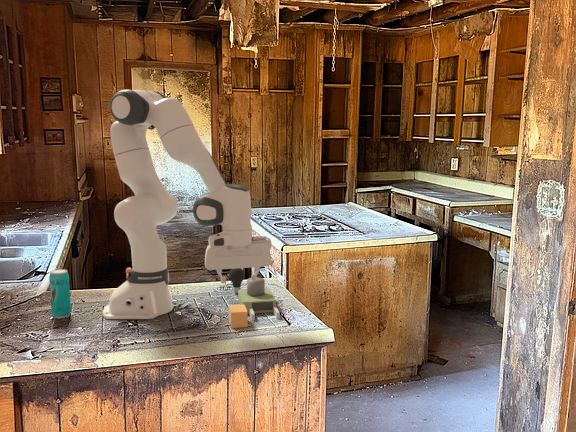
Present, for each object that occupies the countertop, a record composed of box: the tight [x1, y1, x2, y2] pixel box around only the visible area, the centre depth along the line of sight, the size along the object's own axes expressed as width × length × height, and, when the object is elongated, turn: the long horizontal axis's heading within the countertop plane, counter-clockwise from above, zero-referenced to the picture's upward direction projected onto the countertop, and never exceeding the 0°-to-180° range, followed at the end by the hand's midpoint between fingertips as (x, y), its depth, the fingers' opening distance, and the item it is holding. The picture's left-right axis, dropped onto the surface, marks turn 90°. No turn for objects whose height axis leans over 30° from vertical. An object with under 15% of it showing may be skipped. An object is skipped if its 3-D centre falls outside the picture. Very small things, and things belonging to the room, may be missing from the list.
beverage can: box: [48, 268, 72, 320], centre depth 171 cm, size 6×6×15 cm
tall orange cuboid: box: [228, 304, 249, 329], centre depth 167 cm, size 5×7×5 cm
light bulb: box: [228, 268, 245, 295], centre depth 196 cm, size 6×6×10 cm
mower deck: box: [237, 276, 281, 322], centre depth 179 cm, size 11×20×9 cm, turn 12°
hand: (238, 281), depth 165 cm, fingers open, 8 cm apart
